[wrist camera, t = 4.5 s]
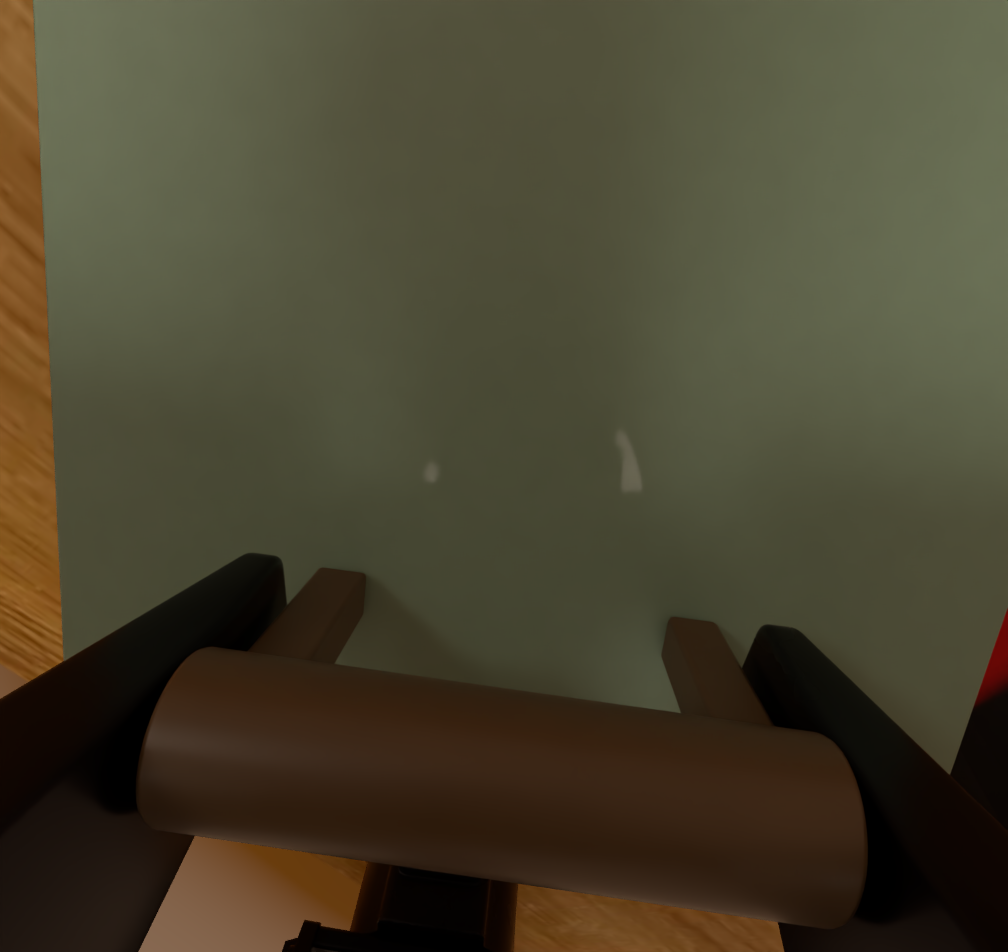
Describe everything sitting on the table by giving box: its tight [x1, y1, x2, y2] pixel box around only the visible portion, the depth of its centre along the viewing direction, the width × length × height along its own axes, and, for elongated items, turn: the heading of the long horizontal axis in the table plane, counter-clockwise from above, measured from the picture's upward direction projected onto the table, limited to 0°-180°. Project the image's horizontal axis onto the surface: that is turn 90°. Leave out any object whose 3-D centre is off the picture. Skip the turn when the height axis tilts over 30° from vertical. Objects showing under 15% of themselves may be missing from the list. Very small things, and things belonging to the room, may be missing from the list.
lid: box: [33, 0, 1008, 929], centre depth 7 cm, size 12×13×5 cm
